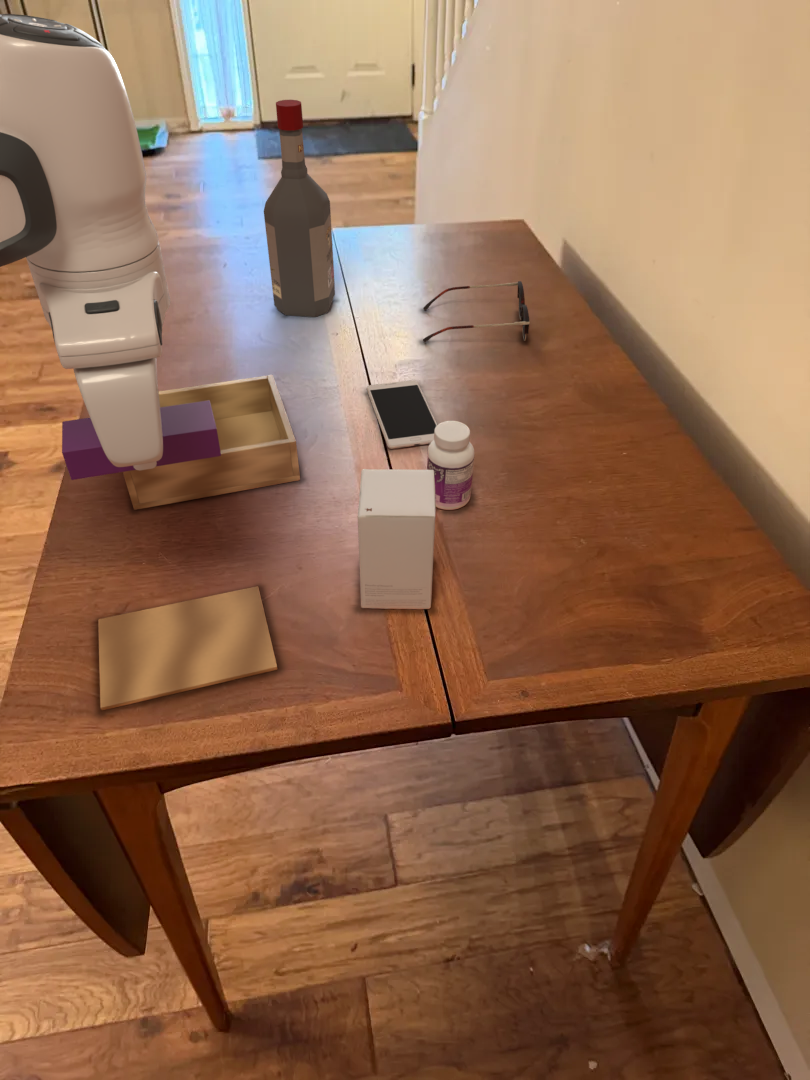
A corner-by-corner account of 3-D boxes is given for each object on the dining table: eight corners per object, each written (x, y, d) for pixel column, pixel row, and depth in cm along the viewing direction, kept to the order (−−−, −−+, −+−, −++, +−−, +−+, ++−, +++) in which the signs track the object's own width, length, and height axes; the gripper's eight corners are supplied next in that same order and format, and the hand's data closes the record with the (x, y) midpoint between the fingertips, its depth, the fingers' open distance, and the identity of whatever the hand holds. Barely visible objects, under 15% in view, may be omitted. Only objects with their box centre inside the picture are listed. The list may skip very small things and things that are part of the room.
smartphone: (388, 446, 98) (365, 385, 109) (388, 450, 99) (365, 388, 110) (445, 439, 100) (417, 378, 110) (445, 443, 100) (417, 382, 111)
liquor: (337, 294, 132) (326, 95, 111) (327, 319, 125) (314, 113, 105) (284, 291, 132) (264, 93, 112) (272, 315, 126) (248, 110, 105)
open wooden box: (134, 510, 90) (122, 470, 86) (128, 435, 101) (117, 397, 97) (300, 480, 95) (296, 441, 91) (277, 411, 105) (272, 374, 102)
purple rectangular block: (71, 480, 63) (61, 452, 61) (71, 448, 66) (62, 421, 64) (221, 456, 65) (216, 428, 64) (214, 427, 69) (209, 399, 67)
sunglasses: (528, 349, 119) (530, 318, 115) (423, 353, 119) (421, 323, 116) (520, 307, 129) (521, 278, 125) (423, 311, 129) (422, 282, 126)
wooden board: (101, 710, 70) (100, 707, 70) (99, 622, 78) (97, 619, 77) (277, 669, 73) (277, 666, 73) (258, 589, 81) (258, 585, 81)
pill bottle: (419, 488, 94) (420, 421, 87) (459, 479, 95) (464, 412, 88) (436, 516, 90) (439, 448, 83) (477, 506, 91) (484, 438, 85)
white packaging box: (431, 611, 79) (436, 517, 70) (359, 609, 79) (354, 516, 71) (431, 560, 84) (435, 468, 76) (363, 559, 85) (360, 466, 76)
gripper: (58, 235, 62) (100, 386, 71) (55, 360, 48) (108, 528, 57) (139, 228, 64) (170, 376, 73) (160, 347, 49) (195, 512, 59)
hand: (143, 444), depth 65 cm, fingers closed on purple rectangular block, 4 cm apart
